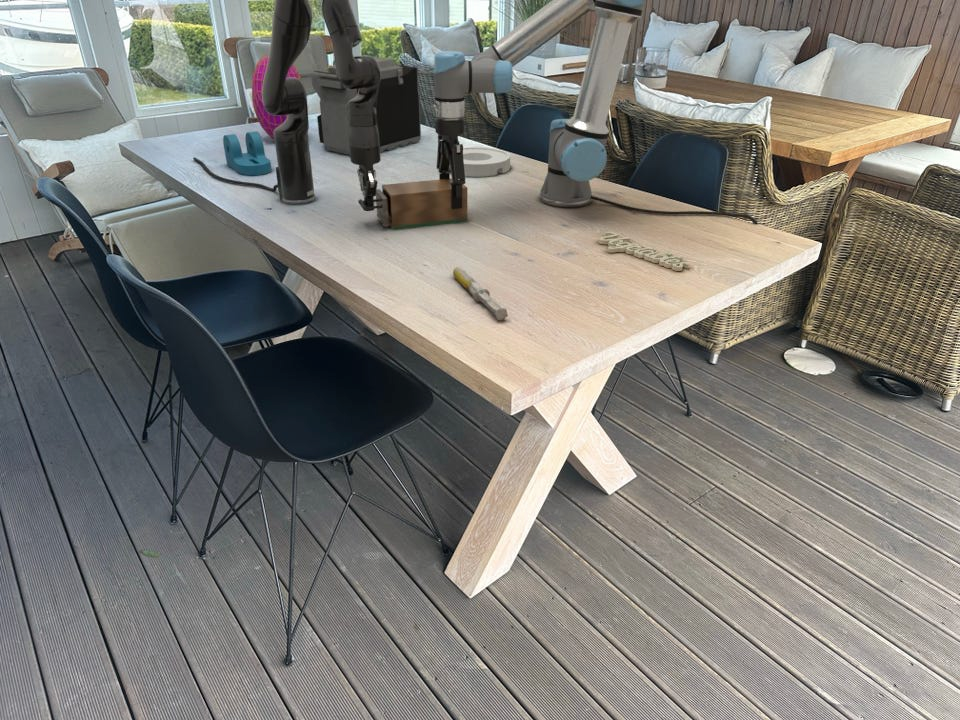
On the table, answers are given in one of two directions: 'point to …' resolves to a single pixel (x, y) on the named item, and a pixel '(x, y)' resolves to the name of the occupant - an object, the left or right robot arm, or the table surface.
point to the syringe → (479, 293)
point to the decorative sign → (642, 251)
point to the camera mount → (246, 154)
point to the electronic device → (392, 108)
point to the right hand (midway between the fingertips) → (450, 202)
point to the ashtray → (485, 161)
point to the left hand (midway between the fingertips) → (369, 210)
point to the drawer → (380, 207)
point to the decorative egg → (264, 118)
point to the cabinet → (424, 204)
